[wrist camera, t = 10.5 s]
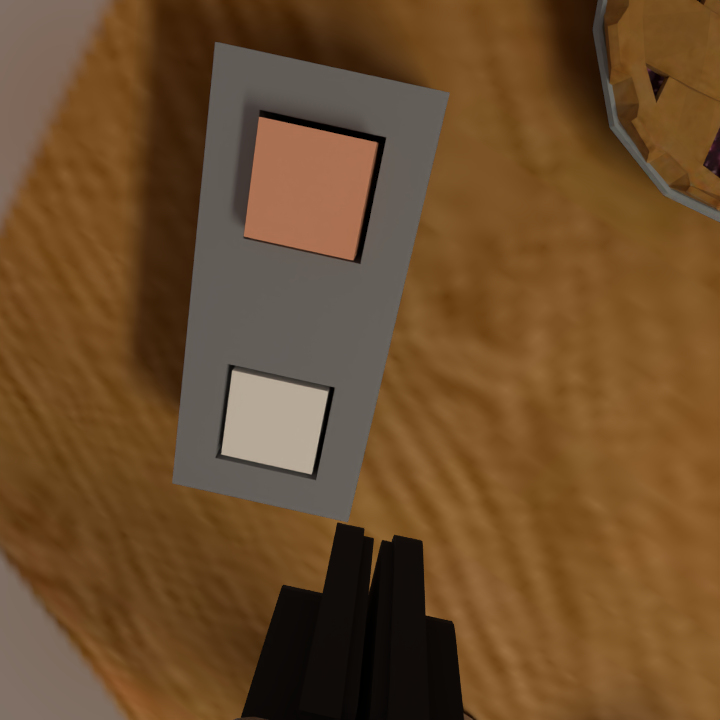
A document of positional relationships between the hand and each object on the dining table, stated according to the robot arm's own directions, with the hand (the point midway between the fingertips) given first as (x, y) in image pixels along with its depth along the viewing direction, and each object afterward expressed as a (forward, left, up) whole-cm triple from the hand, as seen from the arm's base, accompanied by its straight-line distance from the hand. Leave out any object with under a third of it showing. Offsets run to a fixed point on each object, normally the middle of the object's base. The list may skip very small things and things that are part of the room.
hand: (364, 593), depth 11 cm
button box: (0, +5, -23) cm, 24 cm away
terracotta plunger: (+6, +5, -22) cm, 23 cm away
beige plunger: (-6, +5, -23) cm, 25 cm away
